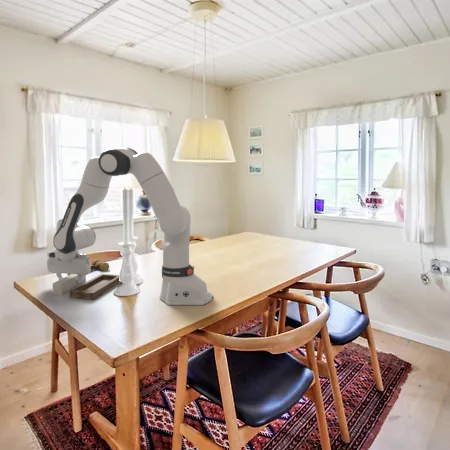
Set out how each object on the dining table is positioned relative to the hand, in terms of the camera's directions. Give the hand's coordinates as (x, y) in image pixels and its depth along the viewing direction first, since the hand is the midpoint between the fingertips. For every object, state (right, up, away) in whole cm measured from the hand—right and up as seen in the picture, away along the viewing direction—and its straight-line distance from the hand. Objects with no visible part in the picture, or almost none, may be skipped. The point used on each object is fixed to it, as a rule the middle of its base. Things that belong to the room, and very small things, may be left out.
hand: (70, 282), depth 165 cm
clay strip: (0, -2, 0) cm, 2 cm away
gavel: (-2, +1, +25) cm, 25 cm away
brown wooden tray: (+14, -3, -2) cm, 14 cm away
